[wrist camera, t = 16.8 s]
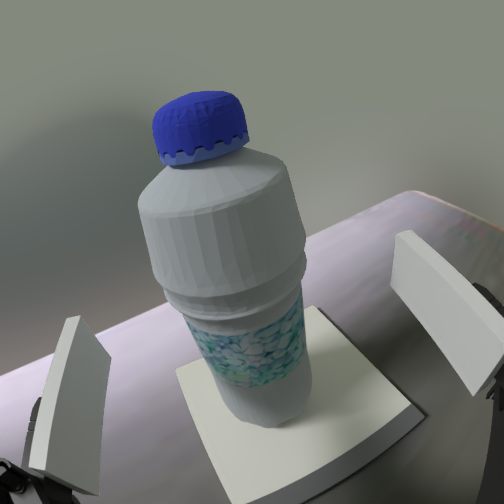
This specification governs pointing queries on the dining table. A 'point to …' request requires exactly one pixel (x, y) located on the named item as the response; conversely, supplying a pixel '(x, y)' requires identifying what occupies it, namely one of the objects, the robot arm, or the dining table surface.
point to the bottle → (230, 255)
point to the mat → (302, 424)
